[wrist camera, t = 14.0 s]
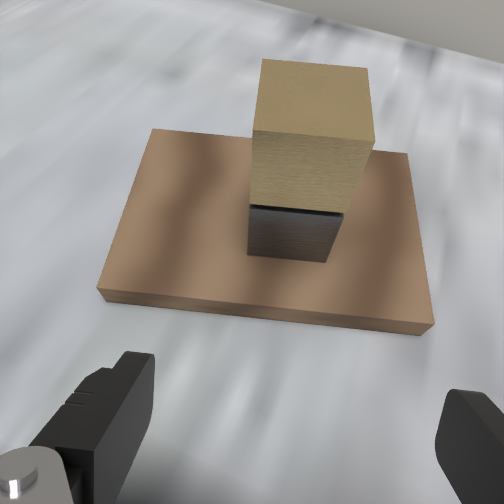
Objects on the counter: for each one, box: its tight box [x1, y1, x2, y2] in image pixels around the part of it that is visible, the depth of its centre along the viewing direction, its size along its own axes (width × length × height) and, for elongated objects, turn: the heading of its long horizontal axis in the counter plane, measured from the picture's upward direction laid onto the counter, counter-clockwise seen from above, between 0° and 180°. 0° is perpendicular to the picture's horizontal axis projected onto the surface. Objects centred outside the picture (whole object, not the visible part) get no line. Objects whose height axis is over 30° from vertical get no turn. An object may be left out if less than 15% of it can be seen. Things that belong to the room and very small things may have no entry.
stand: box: [97, 129, 435, 336], centre depth 27 cm, size 20×14×2 cm
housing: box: [247, 59, 375, 263], centre depth 21 cm, size 5×5×10 cm
